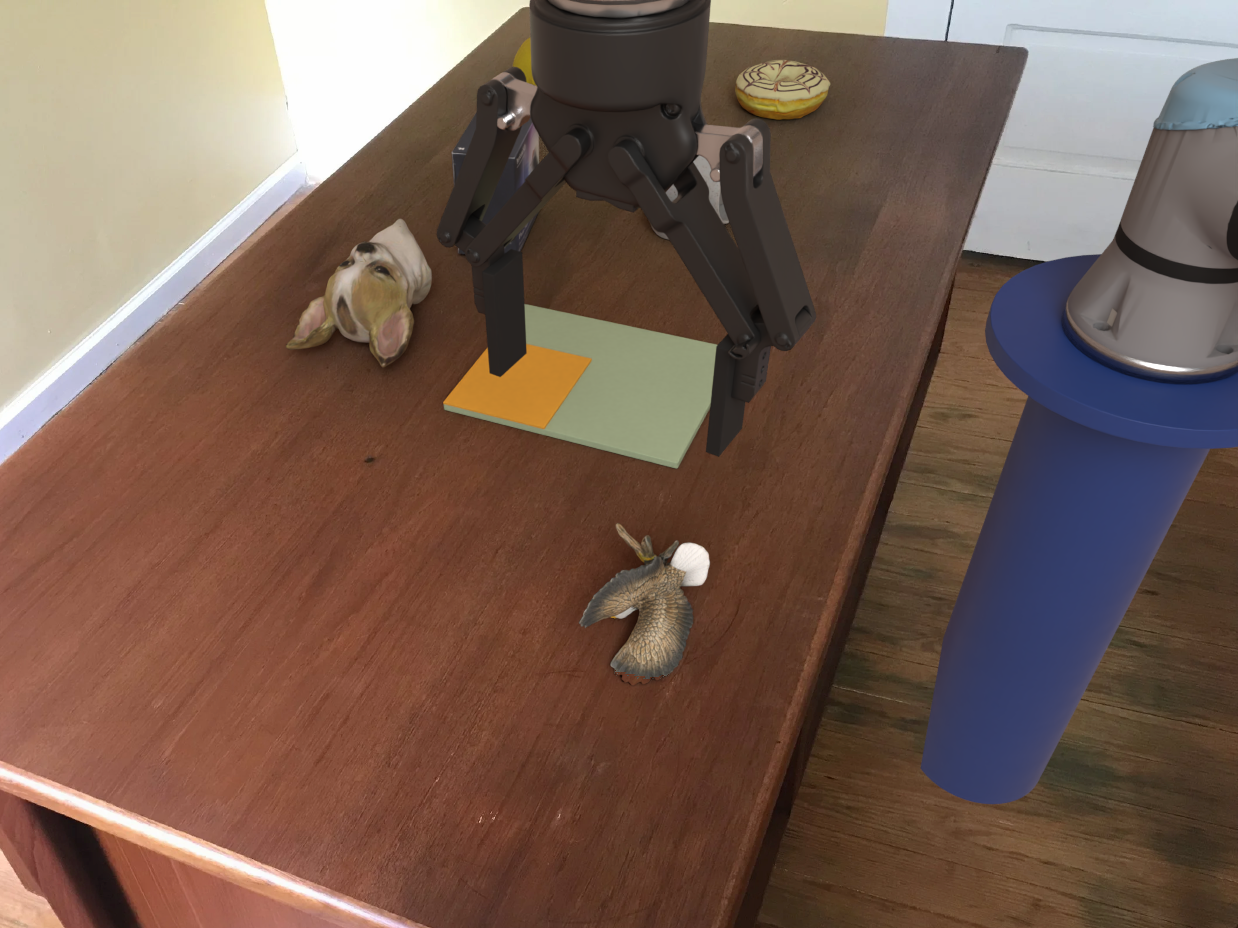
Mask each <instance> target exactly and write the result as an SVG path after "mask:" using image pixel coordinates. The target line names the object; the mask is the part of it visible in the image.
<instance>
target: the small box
mask: <svg viewBox="0 0 1238 928" xmlns="http://www.w3.org/2000/svg"><path fill="white" fill-rule="evenodd" d="M475 130H476V112H475V113H474V115H473V116H472V118H471V120H470V121H469V123H468V124H467V127H466V128H465V130H464V131H463V133H462V134H461V136H460V138H459V140H458V141H457V142H456V144H455V146H454V148H453V149H452V151H451V167H452V179H453V182H452V183H453V185H454V184H455V182H456V179H457V177H458V174H459V171H460V169H461V166H462V164H463V161H464V158H465V156H466V153H467V151H468V148H469V145H470V143H471V140H472V138H473V135H474V132H475ZM539 163H540V136H539V134H538V132H537V131H536V129H535V127H534V125H533V123H532V120H531V117H530V119H529V121H528V122H526V123H525V124H524V125H522V127H521V130H520V133H519V135H518V138H517V140H516V142H515V145H514V147H513V149H512V152H511V154H510V156H509V159H508V161H507V163H506V166H505V168H504V170H503V173H502V175H501V177H500V180H499V182H498V184H497V187H496V189H495V191H494V194H493V196H492V198H491V201H490V203H489V205H488V208H487V210H486V212H485V215H484V217H483V219H482V222H483V223H485V224H486V225H487V224H488V223H489V222H490V221H491V220H492V218H493V217H494V216H495V215H496V214H497V213H498V212H499V210H500V209H501V208H502V207H503V206H504V205H505V204H506V203H507V201H508V200H509V199H510V198H511V197H512V196H513V195H514V194H515V192H516V191H517V190H518V189H519V188H520V187H521V186H522V184H523V183H524V182H525V179H526V178H527V177H528V175H529V174H530V173H531V172H532V171H533V170H534V169H535V168H536V166H537V165H538V164H539ZM539 213H540V211H539V212H538V213H537V214H536V215H535V216H534V217H533V218H532V219H531V220H530V221H529V223H528V224H527V225H526V226H525V227H524V228H523V229H522V230H521V231H520V232H519V233H518V234H517V235H516V236H515V237H514V238H515V239H514V240H513V241H512V242H511V243H509V244H508V245H507V246H506V247H504V254H505V253H506V252H508V251H509V250H510V249H512V250H516V251H519V252H522V250H523V248H524V245H525V243H526V241H527V239H528V237H529V234H530V232H531V230H532V228H533V226H534V223H535V222H536V219H537V216H538V215H539ZM457 254H458V255H465V253H464V252H463V251H462V250H461V249H459V248H458V247H457Z"/></svg>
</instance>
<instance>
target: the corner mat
mask: <svg viewBox="0 0 1238 928" xmlns="http://www.w3.org/2000/svg"><path fill="white" fill-rule="evenodd" d="M525 325H526V348H527V354H525V355H524V356H523V357H522V358H521V359H520V360H519V361H518V362H517V363H516V364H514V365H513V366H512V367H511V368H510V369H509V370H508V371H507V372H506V373H505V374H503V375H502V376H501V377H498V376H496V375H493V374H490V373H489V359H488V346H487V347H486V349H484V351H483V352H482V354H481V355H480V356H479V357H478V359H477V360H476V361H475V362H474V364H473V365H472V366H471V367H470V368H469V370H468V371H467V372H466V373H465V374H464V376H463V377H462V378H461V380H460V381H459V382H458V383H457V384H456V386H455V387H454V388H453V389H452V390H451V392H450V393H449V394H448V396H447V397H446V398H445V399H444V400H443V402H442V403H443V410H444V411H448V412H452V413H456V414H460V415H463V416H466V417H471V418H476V419H479V420H483V421H488V422H491V423H496V424H498V425H499V424H500V425H502V426H506V427H511V428H514V429H518V430H522V431H526V432H530V433H534V434H539V435H542V436H546V437H550V438H554V439H558V440H562V441H566V442H570V443H574V444H578V445H581V446H586V447H590V448H594V449H597V450H600V451H601V450H602V451H606V452H610V453H613V454H616V455H621V456H625V457H628V458H633V459H637V460H641V461H643V462H644V461H645V462H649V463H653V464H657V465H660V466H663V467H664V466H665V467H668V468H673V469H676V470H677V469H678V468H679V467H680V465H681V463H682V461H683V459H684V457H685V455H686V453H687V452H688V450H689V448H690V446H691V444H692V443H693V441H694V439H695V437H696V435H697V433H698V431H699V429H700V428H701V426H702V424H703V422H704V420H705V419H706V416H707V415H708V412H710V405H711V395H712V385H713V375H714V365H715V355H716V346H717V345H718V344H716V343H711V342H707V341H702V340H697V339H693V338H688V337H683V336H678V335H673V334H670V333H669V334H668V333H664V332H659V331H654V330H649V329H646V328H640V327H636V326H631V325H626V324H621V323H617V322H611V321H607V320H604V319H603V320H602V319H598V318H593V317H588V316H583V315H580V314H575V313H570V312H565V311H560V310H556V309H555V310H554V309H550V308H546V307H541V306H536V305H532V304H527V303H525Z"/></svg>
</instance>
